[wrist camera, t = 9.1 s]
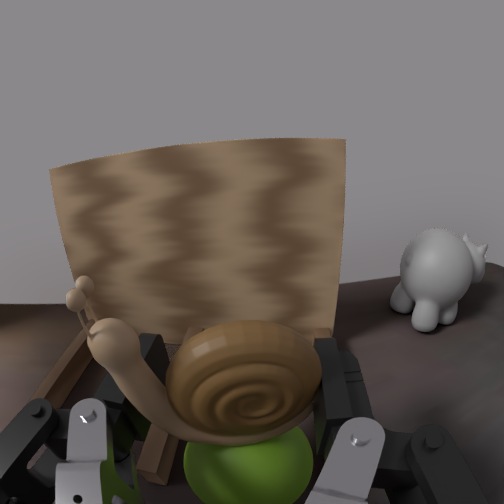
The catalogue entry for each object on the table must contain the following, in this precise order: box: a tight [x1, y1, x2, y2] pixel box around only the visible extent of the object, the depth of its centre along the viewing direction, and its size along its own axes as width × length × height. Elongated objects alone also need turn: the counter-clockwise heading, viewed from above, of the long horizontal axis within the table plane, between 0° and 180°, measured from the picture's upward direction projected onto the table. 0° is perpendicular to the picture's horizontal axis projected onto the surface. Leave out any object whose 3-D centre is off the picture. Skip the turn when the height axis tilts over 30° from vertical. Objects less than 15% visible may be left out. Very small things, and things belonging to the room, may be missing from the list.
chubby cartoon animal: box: [390, 228, 488, 332], centre depth 23 cm, size 8×12×9 cm, turn 98°
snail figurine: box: [66, 276, 322, 504], centre depth 8 cm, size 5×6×12 cm
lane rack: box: [29, 138, 346, 486], centre depth 15 cm, size 22×14×16 cm, turn 86°
